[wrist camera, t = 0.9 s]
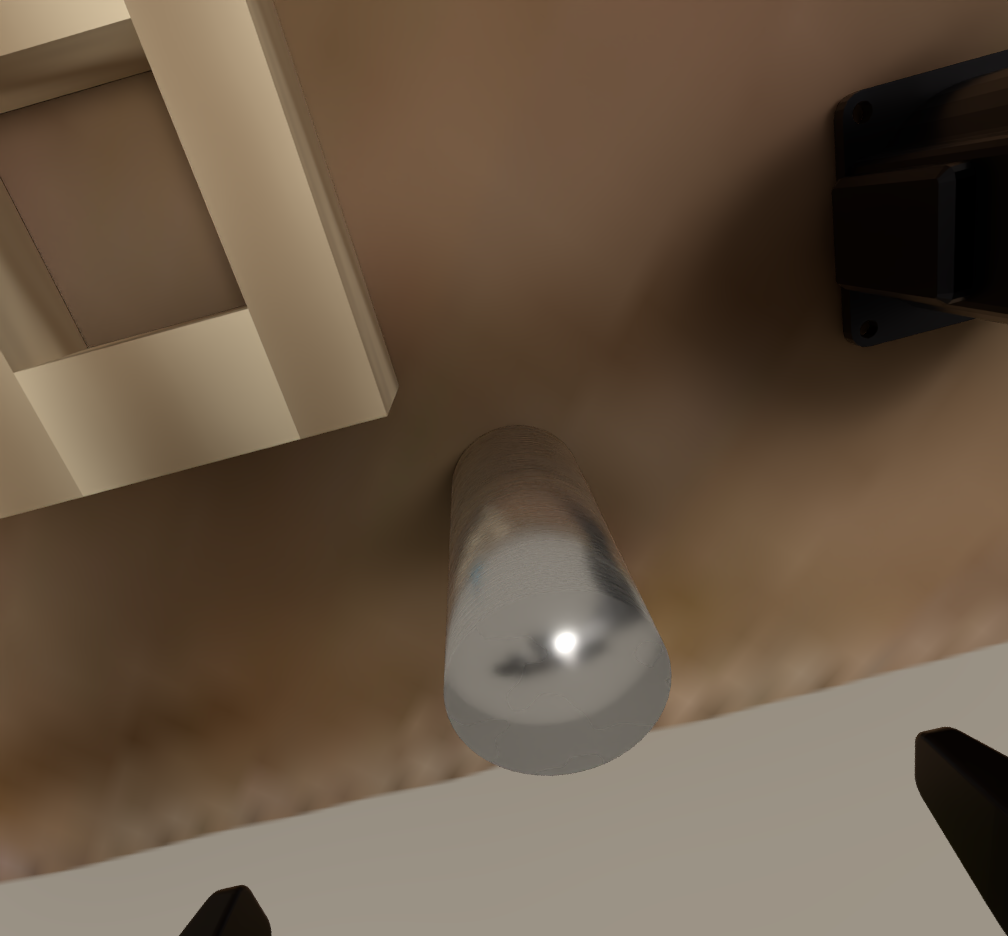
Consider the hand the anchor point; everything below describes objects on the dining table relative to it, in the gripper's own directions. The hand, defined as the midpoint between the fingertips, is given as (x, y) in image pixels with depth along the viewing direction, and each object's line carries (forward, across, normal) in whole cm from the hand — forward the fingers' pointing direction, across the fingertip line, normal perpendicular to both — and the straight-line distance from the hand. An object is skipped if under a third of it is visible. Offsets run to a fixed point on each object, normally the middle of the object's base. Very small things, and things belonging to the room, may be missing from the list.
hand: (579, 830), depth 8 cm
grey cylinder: (+12, 0, 0) cm, 12 cm away
